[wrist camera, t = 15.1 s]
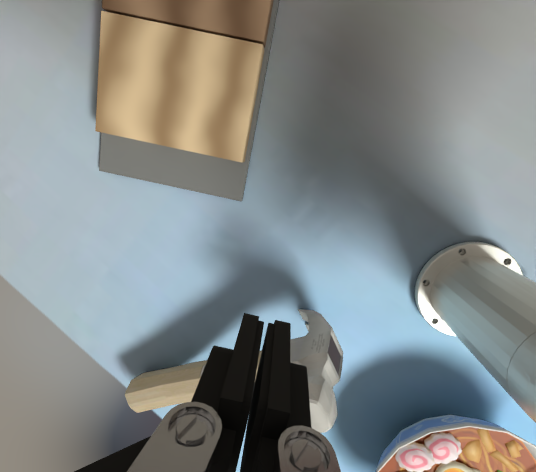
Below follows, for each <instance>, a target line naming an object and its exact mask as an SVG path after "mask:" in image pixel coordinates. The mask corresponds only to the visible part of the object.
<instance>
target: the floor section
mask: <svg viewBox="0 0 536 472" xmlns="http://www.w3.org/2000/svg"><path fill="white" fill-rule="evenodd" d="M278 4H279V0H102V8H103V9H104V10H106V11H107V12H110V13H115V14H120V15H124V16H129V17H134V18H139V19H144V20H148V21H153V22H158V23H163V24H167V25H172V26H177V27H182V28H187V29H191V30H196V31H201V32H206V33H210V34H215V35H220V36H225V37H230V38H234V39H239V40H244V41H249V42H253V43H258V44H263V47H264V56H263V61H262V67H261V73H260V78H259V84H258V89H257V95H256V101H255V106H254V112H253V117H252V123H251V128H250V134H249V140H248V145H247V151H246V156H245V162H237V161H232V160H228V159H223V158H218V157H214V156H209V155H204V154H200V153H195V152H190V151H186V150H181V149H176V148H172V147H167V146H163V145H158V144H153V143H149V142H144V141H139V140H135V139H130V138H125V137H121V136H116V135H111V134H107V133H102V132H101V147H100V165H99V171H103V172H108V173H113V174H117V175H122V176H126V177H131V178H136V179H140V180H145V181H150V182H154V183H159V184H163V185H168V186H173V187H177V188H182V189H187V190H191V191H196V192H201V193H205V194H210V195H214V196H219V197H224V198H228V199H233V200H238V201H242V199H243V194H244V188H245V183H246V178H247V172H248V167H249V161H250V156H251V150H252V145H253V140H254V134H255V129H256V123H257V118H258V112H259V107H260V102H261V96H262V91H263V85H264V80H265V75H266V69H267V64H268V58H269V53H270V47H271V42H272V37H273V31H274V26H275V20H276V15H277V9H278Z"/></svg>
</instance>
